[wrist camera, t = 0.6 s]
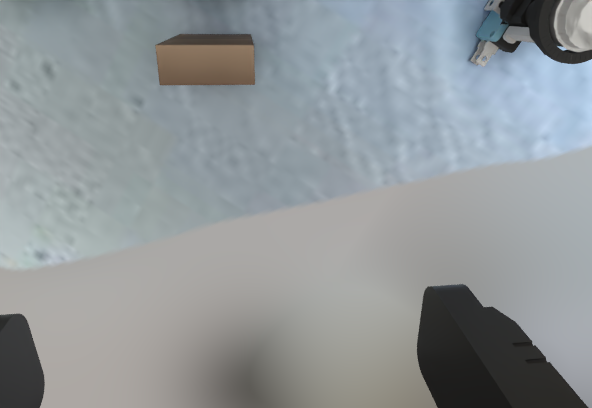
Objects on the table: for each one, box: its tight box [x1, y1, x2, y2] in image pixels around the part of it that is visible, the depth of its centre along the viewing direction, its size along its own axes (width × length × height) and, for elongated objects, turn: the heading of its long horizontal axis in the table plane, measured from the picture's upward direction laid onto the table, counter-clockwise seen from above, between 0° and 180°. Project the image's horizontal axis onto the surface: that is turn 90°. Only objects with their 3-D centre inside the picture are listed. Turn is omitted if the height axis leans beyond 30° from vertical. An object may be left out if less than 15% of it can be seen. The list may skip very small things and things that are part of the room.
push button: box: [471, 0, 592, 67], centre depth 30 cm, size 7×5×10 cm
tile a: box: [156, 34, 255, 85], centre depth 28 cm, size 2×5×10 cm, turn 89°
